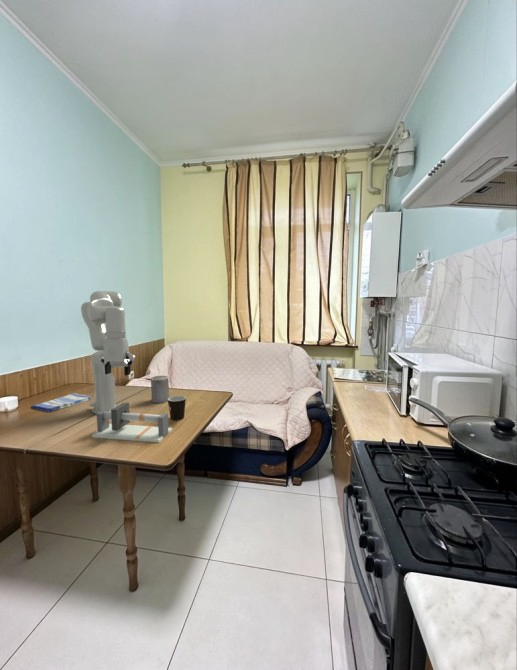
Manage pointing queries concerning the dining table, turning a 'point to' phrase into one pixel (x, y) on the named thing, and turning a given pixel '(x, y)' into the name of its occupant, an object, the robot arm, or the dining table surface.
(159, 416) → the pipe rig
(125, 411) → the collar
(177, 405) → the coffee mug
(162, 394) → the pillar candle
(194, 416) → the dining table surface
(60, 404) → the dish towel
